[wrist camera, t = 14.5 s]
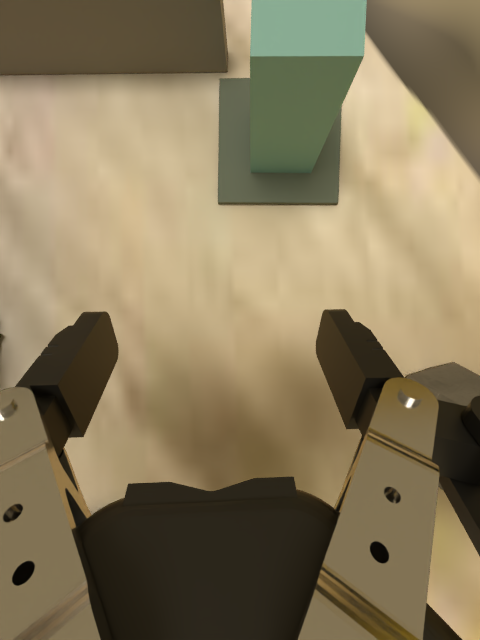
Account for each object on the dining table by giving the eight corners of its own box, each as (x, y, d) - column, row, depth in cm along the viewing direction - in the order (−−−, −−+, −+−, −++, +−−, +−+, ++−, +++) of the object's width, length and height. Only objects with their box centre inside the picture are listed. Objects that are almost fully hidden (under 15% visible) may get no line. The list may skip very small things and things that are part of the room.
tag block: (250, 172, 21) (250, 56, 12) (252, 106, 21) (253, -72, 11) (310, 173, 21) (363, 55, 11) (313, 106, 21) (370, -74, 11)
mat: (218, 204, 22) (217, 202, 22) (220, 82, 22) (219, 78, 21) (336, 204, 22) (338, 202, 21) (340, 81, 21) (342, 77, 21)
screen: (-4, 74, 22) (-88, -1, 17) (-6, 14, 22) (-91, -83, 17) (227, 71, 22) (219, -8, 16) (228, 9, 21) (220, -93, 16)
